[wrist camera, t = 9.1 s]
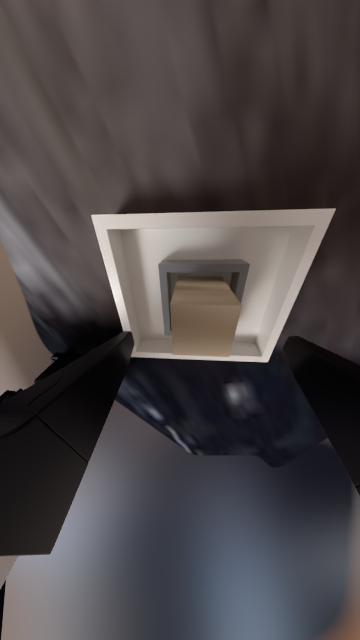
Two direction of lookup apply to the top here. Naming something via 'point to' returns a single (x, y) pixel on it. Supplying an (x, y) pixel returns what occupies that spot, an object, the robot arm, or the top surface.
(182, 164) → the top surface
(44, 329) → the top surface
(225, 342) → the block
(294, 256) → the walled tray
